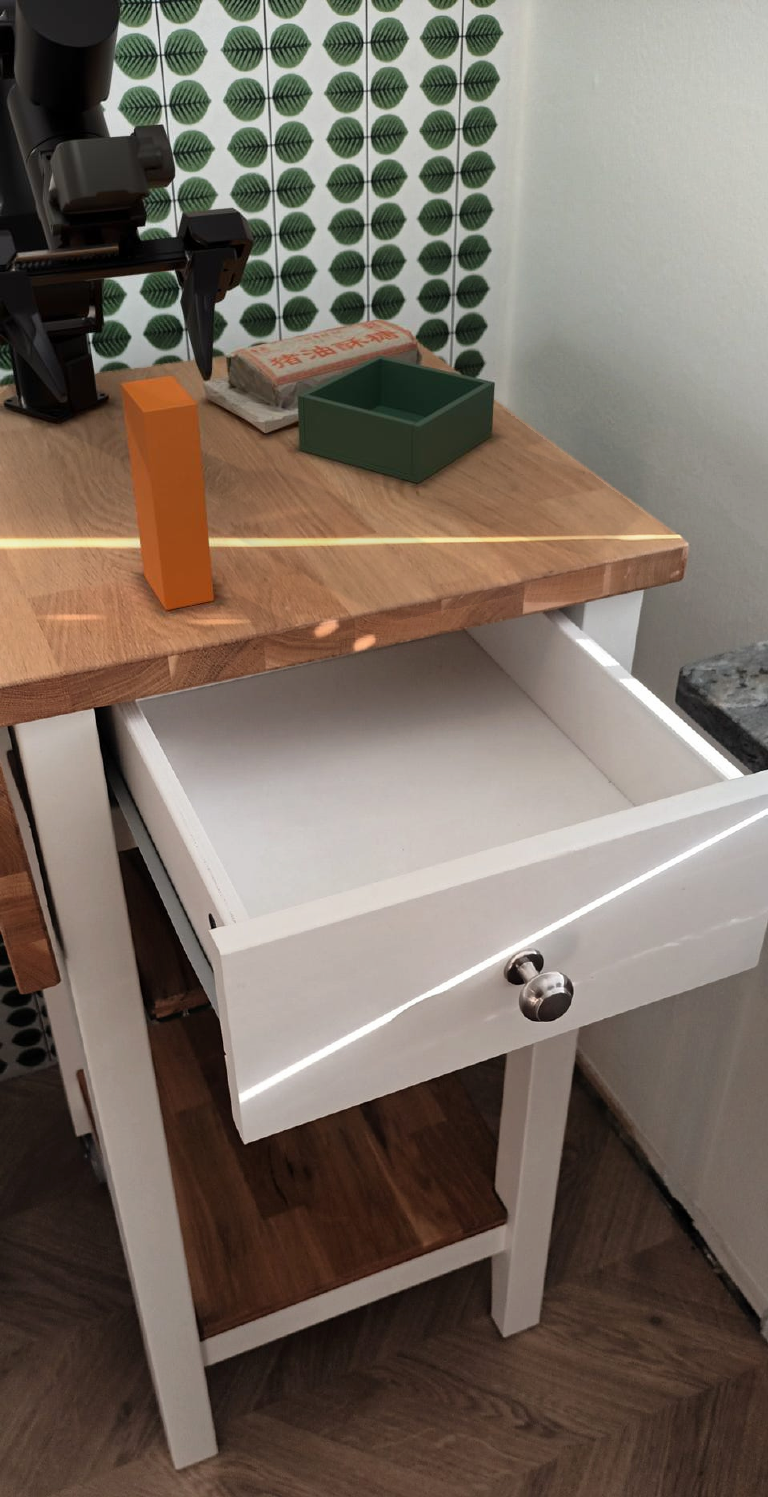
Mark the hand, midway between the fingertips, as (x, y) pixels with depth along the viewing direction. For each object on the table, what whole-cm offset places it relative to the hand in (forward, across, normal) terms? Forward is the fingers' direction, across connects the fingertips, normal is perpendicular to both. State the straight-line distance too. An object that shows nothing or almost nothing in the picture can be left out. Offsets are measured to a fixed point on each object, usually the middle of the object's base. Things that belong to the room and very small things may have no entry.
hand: (137, 388), depth 78 cm
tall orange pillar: (+12, 0, +5) cm, 13 cm away
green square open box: (0, +23, +16) cm, 28 cm away
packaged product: (-8, +22, +24) cm, 34 cm away
